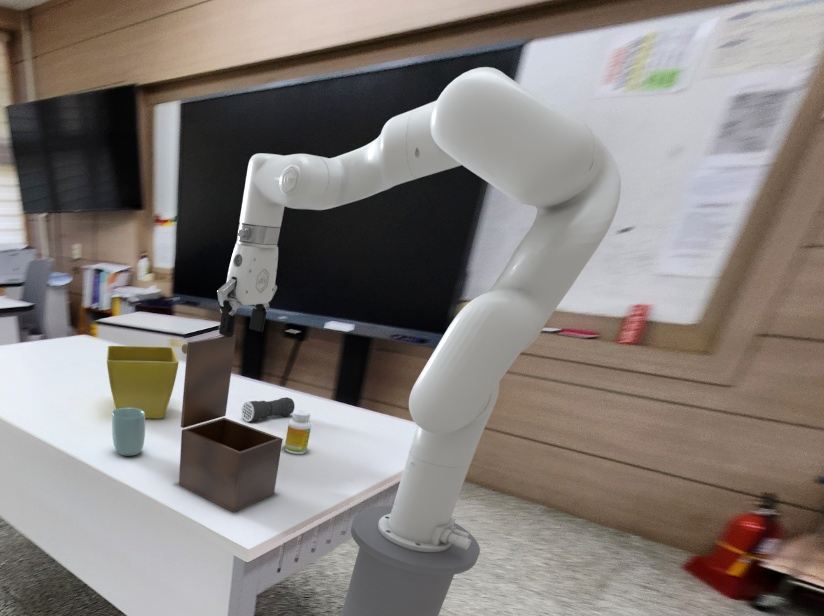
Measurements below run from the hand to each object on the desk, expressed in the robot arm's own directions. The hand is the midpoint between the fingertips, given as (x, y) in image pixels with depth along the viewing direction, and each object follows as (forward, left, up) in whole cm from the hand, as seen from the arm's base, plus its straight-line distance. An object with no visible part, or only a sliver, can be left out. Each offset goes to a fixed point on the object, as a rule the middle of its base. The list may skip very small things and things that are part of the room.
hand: (241, 332), depth 104 cm
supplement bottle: (-4, -21, -30) cm, 36 cm away
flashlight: (+16, -35, -30) cm, 48 cm away
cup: (+20, +13, -30) cm, 38 cm away
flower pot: (+42, -9, -30) cm, 52 cm away
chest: (-8, +9, -29) cm, 32 cm away
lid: (-1, +9, -8) cm, 13 cm away
